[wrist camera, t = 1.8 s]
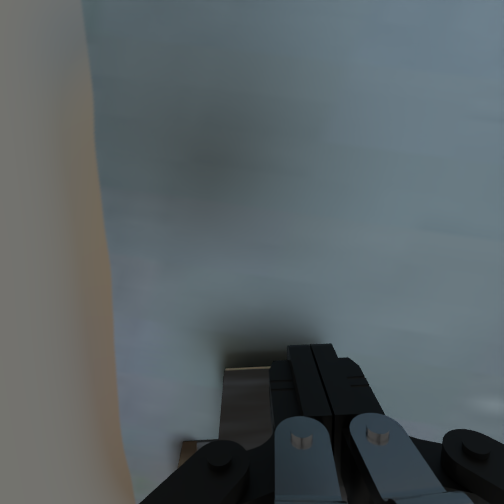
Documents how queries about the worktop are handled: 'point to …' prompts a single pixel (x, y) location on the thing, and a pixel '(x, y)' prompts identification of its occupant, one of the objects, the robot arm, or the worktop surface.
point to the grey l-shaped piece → (247, 408)
